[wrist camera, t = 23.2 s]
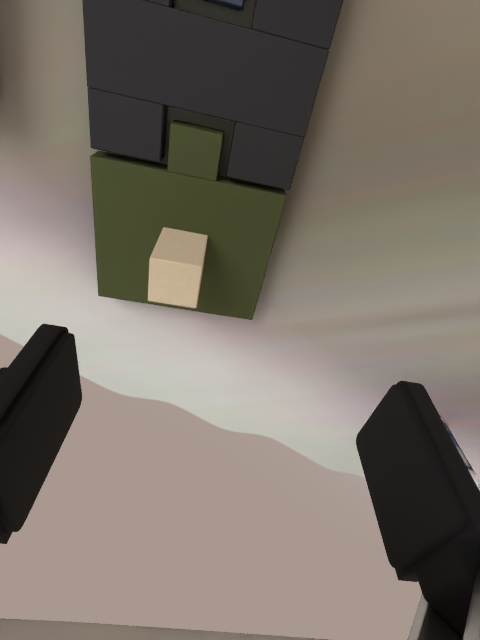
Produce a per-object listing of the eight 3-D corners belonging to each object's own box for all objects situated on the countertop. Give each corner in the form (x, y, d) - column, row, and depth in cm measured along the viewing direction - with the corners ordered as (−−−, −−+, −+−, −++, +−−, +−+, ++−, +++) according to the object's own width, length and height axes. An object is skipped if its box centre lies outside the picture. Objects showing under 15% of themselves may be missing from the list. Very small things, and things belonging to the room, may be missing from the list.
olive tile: (295, 146, 21) (312, 171, 16) (251, 309, 29) (254, 359, 24) (95, 101, 20) (50, 114, 15) (104, 285, 27) (75, 333, 22)
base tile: (344, -27, 17) (352, -34, 15) (286, 183, 22) (289, 190, 21) (88, -104, 15) (75, -118, 14) (98, 143, 21) (90, 148, 20)
